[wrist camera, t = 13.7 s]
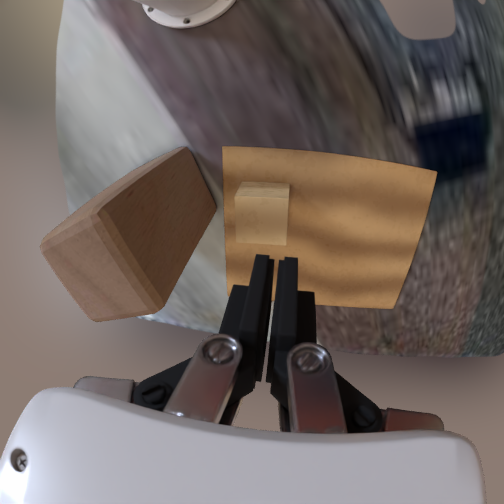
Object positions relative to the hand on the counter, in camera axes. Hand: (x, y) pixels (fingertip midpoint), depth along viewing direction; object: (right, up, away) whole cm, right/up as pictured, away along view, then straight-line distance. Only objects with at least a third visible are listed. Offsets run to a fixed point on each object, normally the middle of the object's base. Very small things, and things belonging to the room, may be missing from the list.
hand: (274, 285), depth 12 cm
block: (-11, +10, +26) cm, 30 cm away
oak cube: (+1, +8, +25) cm, 26 cm away
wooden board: (+9, +3, +27) cm, 28 cm away
